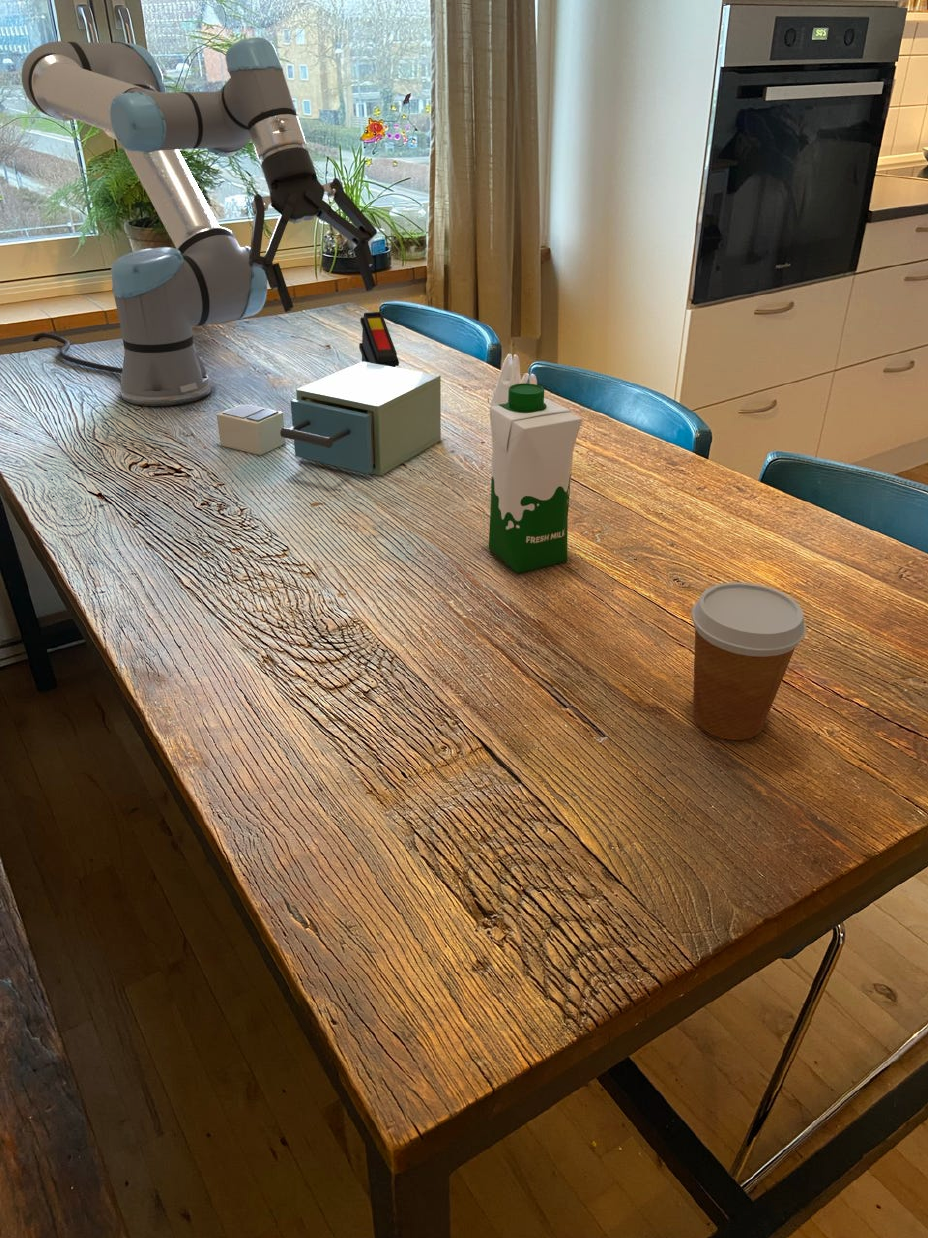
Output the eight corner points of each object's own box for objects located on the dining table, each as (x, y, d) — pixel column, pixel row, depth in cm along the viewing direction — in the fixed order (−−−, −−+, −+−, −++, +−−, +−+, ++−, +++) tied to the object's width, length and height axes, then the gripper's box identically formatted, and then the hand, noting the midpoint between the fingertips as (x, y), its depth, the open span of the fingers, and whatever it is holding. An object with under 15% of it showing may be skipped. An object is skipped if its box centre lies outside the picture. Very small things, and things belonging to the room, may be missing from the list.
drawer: (344, 488, 125) (341, 429, 121) (269, 468, 130) (263, 411, 126) (426, 440, 141) (425, 386, 136) (356, 425, 146) (353, 373, 142)
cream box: (220, 445, 141) (215, 412, 138) (246, 433, 145) (242, 401, 142) (260, 455, 137) (256, 422, 134) (286, 443, 142) (283, 410, 139)
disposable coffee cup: (662, 690, 87) (680, 581, 81) (759, 686, 88) (783, 577, 82) (692, 755, 79) (713, 639, 73) (798, 750, 80) (828, 635, 74)
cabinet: (380, 476, 131) (378, 406, 126) (301, 456, 137) (295, 389, 132) (440, 440, 144) (440, 375, 138) (365, 424, 150) (362, 361, 144)
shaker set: (488, 414, 154) (490, 348, 148) (511, 411, 156) (513, 346, 150) (518, 438, 145) (521, 369, 139) (542, 435, 146) (546, 366, 140)
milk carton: (539, 533, 116) (548, 377, 105) (578, 563, 109) (593, 400, 99) (478, 547, 112) (482, 387, 102) (515, 579, 106) (523, 412, 95)
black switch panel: (376, 379, 165) (382, 310, 152) (394, 431, 158) (402, 363, 146) (355, 380, 164) (360, 311, 151) (373, 433, 157) (379, 365, 145)
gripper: (205, 161, 128) (257, 312, 132) (367, 130, 136) (411, 273, 140) (199, 181, 135) (249, 324, 139) (353, 150, 143) (396, 286, 147)
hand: (331, 299), depth 140 cm, fingers open, 13 cm apart
